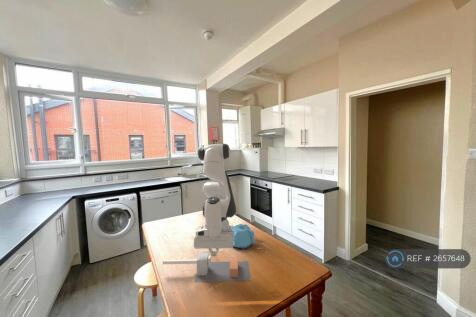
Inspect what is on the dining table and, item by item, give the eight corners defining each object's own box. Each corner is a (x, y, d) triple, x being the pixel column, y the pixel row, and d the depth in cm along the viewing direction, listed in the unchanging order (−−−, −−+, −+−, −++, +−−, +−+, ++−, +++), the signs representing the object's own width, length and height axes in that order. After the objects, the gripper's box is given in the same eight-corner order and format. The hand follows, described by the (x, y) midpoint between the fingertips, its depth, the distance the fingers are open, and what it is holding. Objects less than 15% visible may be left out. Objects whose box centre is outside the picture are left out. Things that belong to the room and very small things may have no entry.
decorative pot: (230, 252, 119) (230, 230, 118) (227, 240, 135) (227, 221, 134) (256, 249, 122) (256, 228, 121) (250, 238, 137) (250, 219, 137)
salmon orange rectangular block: (230, 264, 104) (230, 257, 104) (237, 264, 104) (237, 257, 104) (229, 277, 94) (229, 269, 94) (237, 276, 94) (237, 268, 94)
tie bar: (164, 261, 99) (164, 256, 99) (210, 260, 100) (210, 255, 100) (162, 265, 96) (162, 259, 96) (210, 264, 97) (210, 258, 97)
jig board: (199, 263, 107) (199, 248, 106) (248, 262, 107) (248, 247, 107) (194, 284, 91) (193, 266, 90) (250, 282, 91) (250, 264, 91)
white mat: (200, 250, 120) (200, 249, 120) (222, 250, 121) (222, 249, 121) (196, 262, 108) (196, 261, 107) (221, 262, 108) (221, 261, 108)
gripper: (233, 226, 101) (233, 251, 102) (195, 227, 101) (195, 252, 102) (233, 231, 95) (234, 258, 96) (192, 232, 94) (193, 259, 95)
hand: (214, 255), depth 99 cm, fingers closed
